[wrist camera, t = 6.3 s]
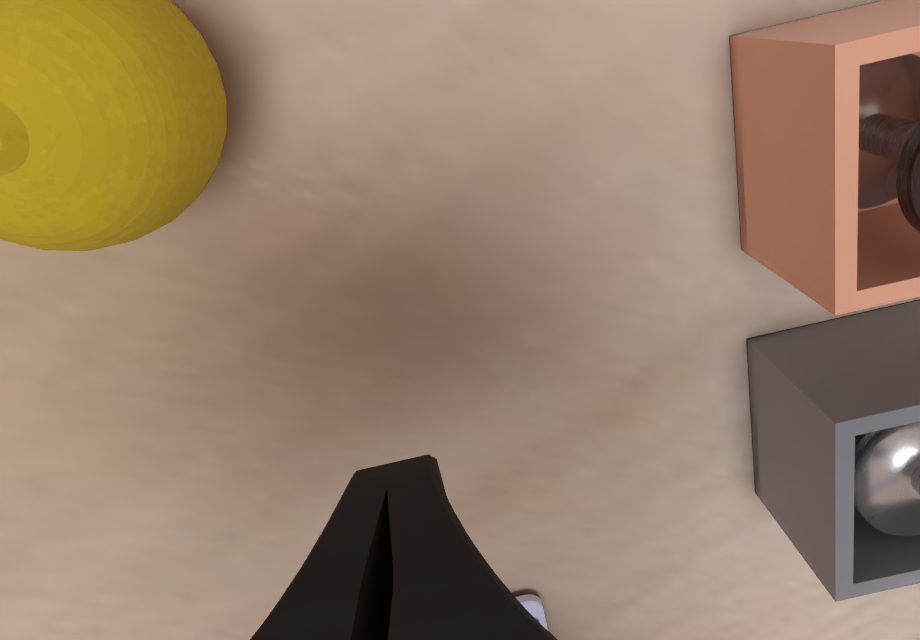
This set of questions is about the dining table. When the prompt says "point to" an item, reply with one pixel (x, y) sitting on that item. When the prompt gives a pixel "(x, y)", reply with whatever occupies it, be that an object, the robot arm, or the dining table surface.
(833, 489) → the gray open box
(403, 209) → the dining table surface
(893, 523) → the charcoal plunger
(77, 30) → the lemon
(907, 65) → the dark metallic spool
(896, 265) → the tan open box
